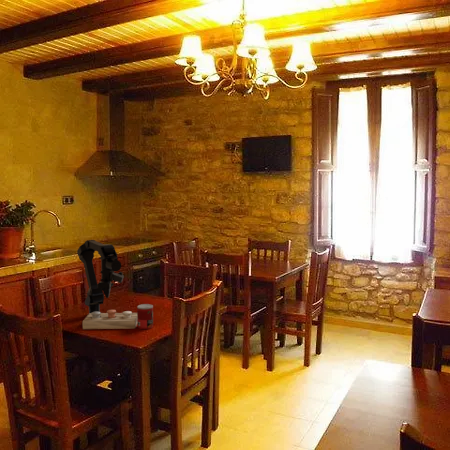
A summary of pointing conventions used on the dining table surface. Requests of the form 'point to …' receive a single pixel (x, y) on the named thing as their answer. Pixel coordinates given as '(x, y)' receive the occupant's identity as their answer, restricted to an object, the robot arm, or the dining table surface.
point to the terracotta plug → (111, 313)
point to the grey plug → (96, 314)
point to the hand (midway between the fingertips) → (107, 297)
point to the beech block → (110, 322)
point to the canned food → (145, 316)
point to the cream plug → (127, 314)
